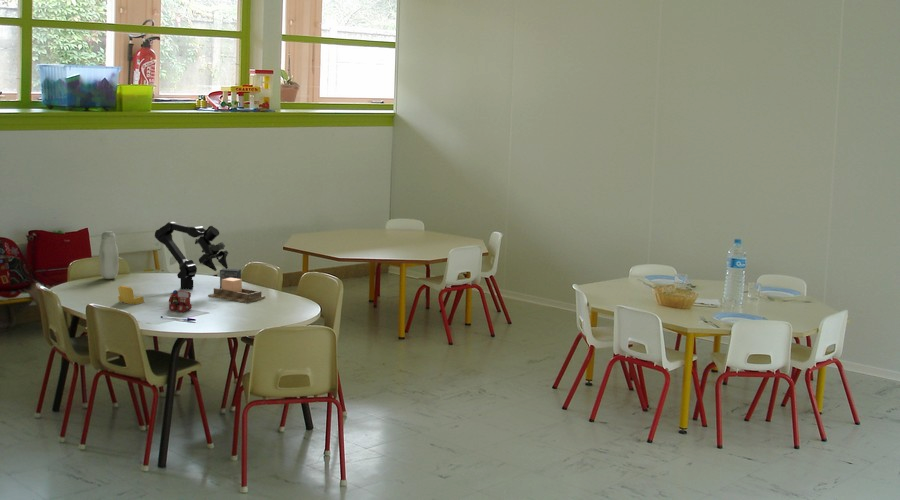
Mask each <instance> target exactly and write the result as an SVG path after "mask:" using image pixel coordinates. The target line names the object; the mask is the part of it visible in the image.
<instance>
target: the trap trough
mask: <svg viewBox="0 0 900 500" xmlns="http://www.w3.org/2000/svg"><path fill="white" fill-rule="evenodd" d="M207 296H208V297H209V298H214V297H215V298H216V299H221V300H227V301H231V302H232V301H233V302H239V303H244V304H246V303H250V302H254V301H259V300H263V299H266V296H265V295H262V291H260V290H254V289H248V288H244V287H243V288H242V293H240V292H235V291H229V290H223V289H222V288H216V287H215V288H213V293H210V294H209V293H208V294H207ZM215 298H214V299H215Z"/></svg>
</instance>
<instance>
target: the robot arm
mask: <svg viewBox="0 0 900 500" xmlns="http://www.w3.org/2000/svg"><path fill="white" fill-rule="evenodd" d="M175 231H176V232H180V233H184V234H187V235H188V236H190V238H191V237H192V238H195V240H194V245H199V246H200V248H201V249H202V250H201V252H202V253H203V254H202V255H201V256H200V257H199V258H198V262H199V264H200V265H201V264H202V265H203V266H206V267H207V268H209V269H211V270H213V271H215V272H217V270H218V269H217V267H216V266H215V264H214V262H213V259H216V260H217V261H218V263H219V264H220V265H221V266H223V268H224V269H229V268H228V263H227V257H228V255H229V251H228V250H225V247H226V245H225V243H224V241H223V242H222V241H221V242H218V244H217V243H216V244H215V243H213V244H212V243H211V242H213V241H214V240H215V239H216V238H217V237H218V236H219V235H220V230H219V229H217V228H216V227H214V225H209V226H208V227H207V229H206V228H204V226H202V225H188V224H182V223H180V222H177V221H169V222H166V223H165V224H164V225H163V226H161V227H160V228H158V229H156V230H155V233H154V237H155V239H156V240H157V241H158V242H159V243H161V244H162V245H164V246H165V248H166V249H167V250H168V251H169V253H170V254H171V255H172V257H173V258H174V259H175V261H176V262H177V263H178V265H179V267H178V268H179V272H178V273H177V274H176V276H177V278H178V279H180V288H179V289H180V290H193V288H194V279H193V278H195V277H196V275H197V274H196V273H197V270H198V268H197V265H196V264H195V262H194V260H193V259H187V258H186V256H185V255H184V253H183V252H182V251H181V250H180V248H179V247H178V246H177V244H176V242H175V241H174V240H173V233H174V232H175Z"/></svg>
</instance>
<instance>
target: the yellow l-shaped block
mask: <svg viewBox="0 0 900 500" xmlns="http://www.w3.org/2000/svg"><path fill="white" fill-rule="evenodd" d="M117 289H118V290H117V291H118V296H117V298H118V302H120V303H122V302H124V303H123V304H130V305H138V304H143V303H145V299H144V297H143V296H138V297H137V296H136V297H135V295H134V289H133V288H132V287H130V286H123V285H119V286H118V288H117Z"/></svg>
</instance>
